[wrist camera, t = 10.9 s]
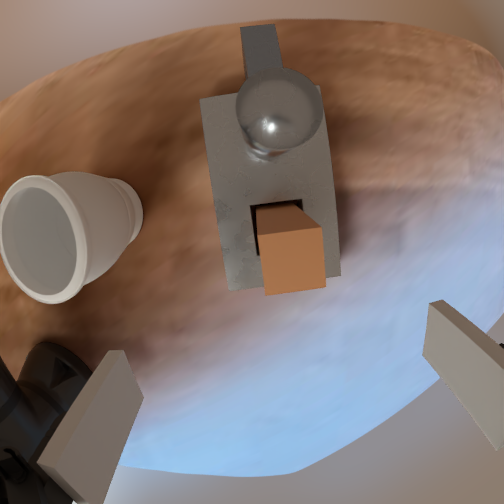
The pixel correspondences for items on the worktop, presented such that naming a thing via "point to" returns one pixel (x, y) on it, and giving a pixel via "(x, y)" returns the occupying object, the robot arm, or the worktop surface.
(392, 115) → the worktop surface
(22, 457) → the robot arm
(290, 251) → the orange square bar
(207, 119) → the plate with square hole
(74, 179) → the jar
